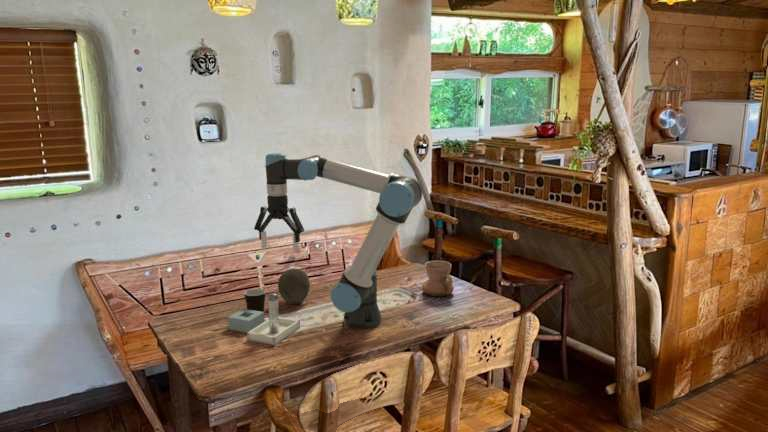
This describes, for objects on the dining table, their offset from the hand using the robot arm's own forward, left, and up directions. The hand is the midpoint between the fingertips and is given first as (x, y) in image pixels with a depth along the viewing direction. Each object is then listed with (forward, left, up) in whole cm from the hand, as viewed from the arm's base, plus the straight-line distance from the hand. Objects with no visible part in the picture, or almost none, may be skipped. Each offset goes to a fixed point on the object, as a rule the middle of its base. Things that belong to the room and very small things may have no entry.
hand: (279, 249), depth 227 cm
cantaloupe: (+10, -25, -32) cm, 41 cm away
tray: (-1, +8, -31) cm, 32 cm away
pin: (-1, +8, -31) cm, 32 cm away
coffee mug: (+17, -7, -32) cm, 36 cm away
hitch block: (+13, +6, -31) cm, 34 cm away
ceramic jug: (-45, -60, -32) cm, 82 cm away
